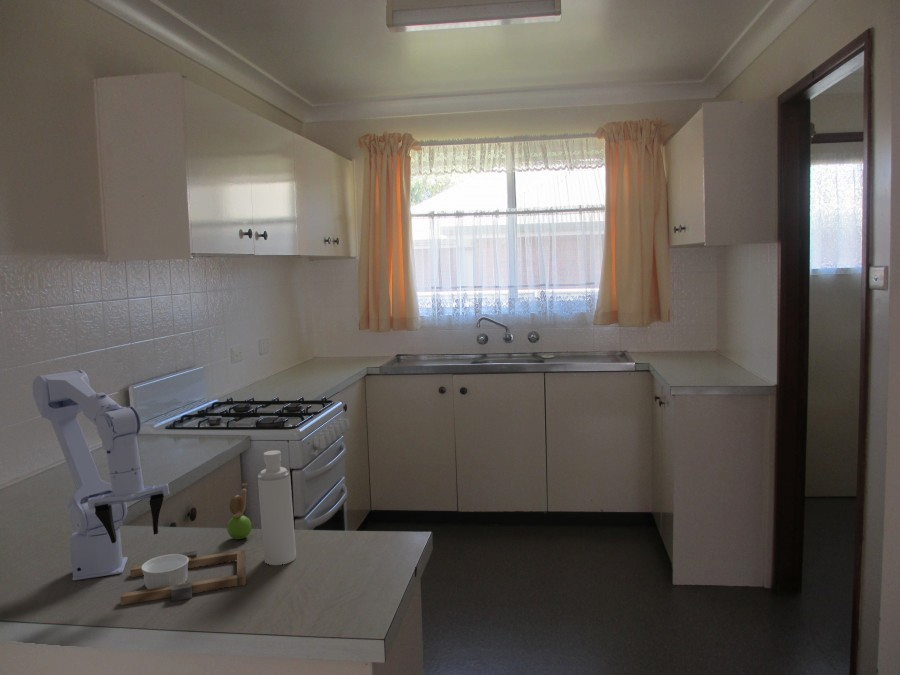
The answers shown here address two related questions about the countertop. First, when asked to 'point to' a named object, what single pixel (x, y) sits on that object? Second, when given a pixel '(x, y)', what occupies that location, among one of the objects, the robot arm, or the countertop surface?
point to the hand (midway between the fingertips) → (135, 537)
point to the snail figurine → (239, 517)
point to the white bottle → (276, 511)
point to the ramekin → (165, 570)
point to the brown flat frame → (188, 589)
